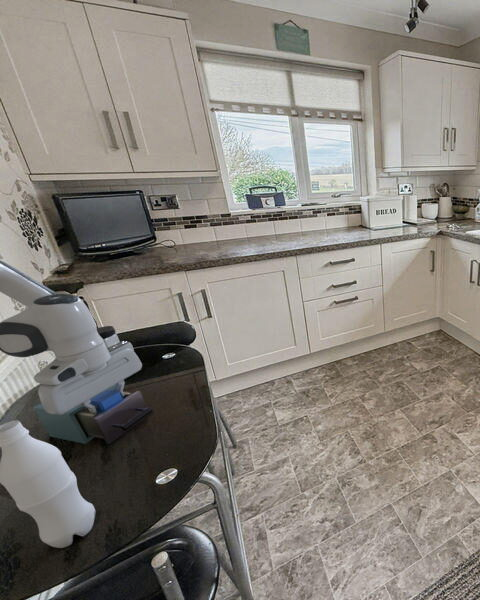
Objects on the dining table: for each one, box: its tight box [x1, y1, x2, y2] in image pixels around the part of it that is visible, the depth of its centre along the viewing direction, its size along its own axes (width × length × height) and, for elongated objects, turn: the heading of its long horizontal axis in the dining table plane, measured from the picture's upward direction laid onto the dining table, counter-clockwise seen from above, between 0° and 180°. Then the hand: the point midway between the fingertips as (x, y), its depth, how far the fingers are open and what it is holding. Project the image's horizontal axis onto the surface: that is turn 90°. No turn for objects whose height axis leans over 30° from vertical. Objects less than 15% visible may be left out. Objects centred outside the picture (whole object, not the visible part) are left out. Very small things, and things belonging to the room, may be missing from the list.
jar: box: [97, 325, 121, 348], centre depth 125 cm, size 9×8×12 cm
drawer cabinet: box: [32, 385, 116, 445], centre depth 89 cm, size 14×12×10 cm
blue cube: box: [91, 390, 123, 415], centre depth 84 cm, size 4×4×4 cm
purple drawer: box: [74, 390, 153, 445], centre depth 85 cm, size 18×11×8 cm, turn 74°
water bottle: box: [0, 420, 96, 549], centre depth 56 cm, size 7×7×25 cm
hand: (108, 404), depth 84 cm, fingers closed on blue cube, 4 cm apart
